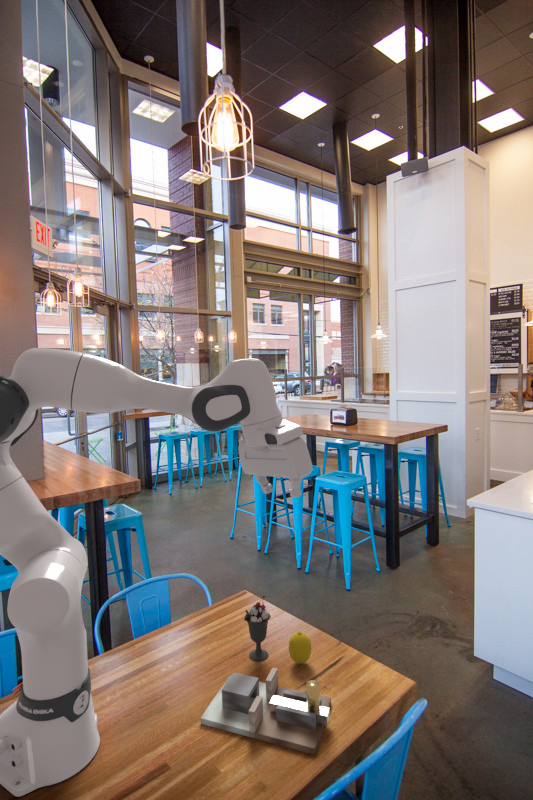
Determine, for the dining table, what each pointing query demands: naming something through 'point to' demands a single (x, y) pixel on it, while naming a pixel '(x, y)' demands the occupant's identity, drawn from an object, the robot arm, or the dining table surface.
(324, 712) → the bolt
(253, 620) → the sundae
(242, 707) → the lock board
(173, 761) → the dining table surface
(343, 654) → the dining table surface
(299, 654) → the lemon
